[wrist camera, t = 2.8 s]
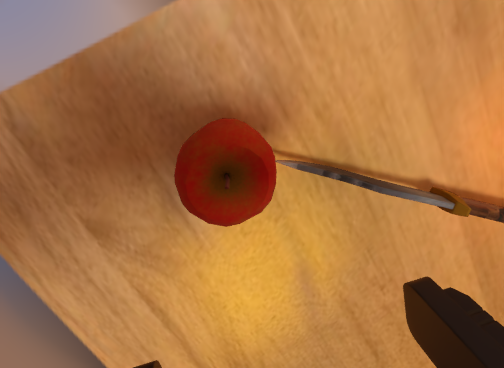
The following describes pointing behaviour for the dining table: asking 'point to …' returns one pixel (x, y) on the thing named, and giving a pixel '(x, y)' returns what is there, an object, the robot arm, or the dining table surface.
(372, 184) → the knife
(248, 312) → the dining table surface
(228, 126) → the apple
